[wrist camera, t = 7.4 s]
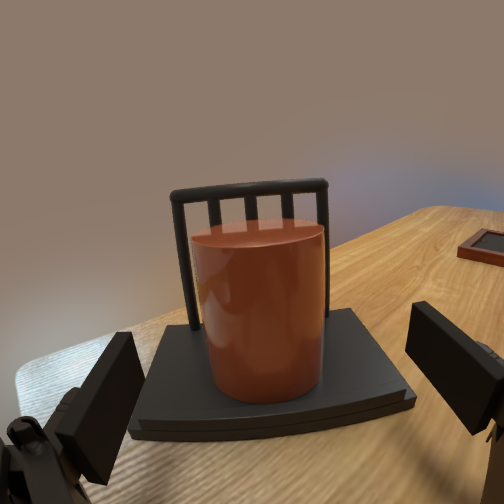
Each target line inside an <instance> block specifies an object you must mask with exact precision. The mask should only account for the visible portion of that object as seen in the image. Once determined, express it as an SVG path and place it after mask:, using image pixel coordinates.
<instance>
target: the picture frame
mask: <svg viewBox="0 0 504 504" xmlns="http://www.w3.org/2000/svg"><path fill="white" fill-rule="evenodd" d="M457 257H460V258H465V259H470V260H475V261H479V262H484V263H488V264H493V265H498V266H502V267H504V232H499V231H494V230H488V229H481V230H479V231H478V232H477V233H475V234H474V235H473V236H472V237H470V238H469V239H468V240H466V241H465V242H464V243H462V244H461V245H460V246H458V251H457Z"/></svg>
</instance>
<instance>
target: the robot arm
mask: <svg viewBox="0 0 504 504" xmlns="http://www.w3.org/2000/svg"><path fill="white" fill-rule="evenodd" d="M405 352H406V353H407V354H408V355H409V357H410V358H411V359H412V360H413V361H414V363H415V364H416V365H417V366H418V367H419V369H420V370H421V371H422V372H423V374H424V375H425V376H426V377H427V378H428V380H429V381H430V382H431V383H432V385H433V386H434V387H435V388H436V390H437V391H438V392H439V393H440V395H441V396H442V397H443V398H444V400H445V401H446V402H447V404H448V405H449V406H450V407H451V409H452V410H453V411H454V413H455V414H456V415H457V416H458V418H459V419H460V420H461V422H462V423H463V424H464V426H465V427H466V428H467V430H468V431H469V432H470V433H471V435H472V436H473V435H475V434H477V433H479V432H481V431H483V430H485V429H486V428H487V426H488V424H489V422H490V420H491V418H493V420H494V421H495V422H496V423H495V425H494V427H493V428H492V430H491V432H490V434H489V436H488V437H487V440H486V442H488V441H489V440H490V438H491V437H492V441H491V450H490V457H489V463H488V469H487V475H486V480H485V485H484V490H483V495H482V499H481V503H480V504H504V360H503V359H502V358H500V357H499V355H497V354H496V353H494V351H493V350H492V349H490V348H489V347H488V346H487V345H485V344H482V343H480V342H478V341H476V342H475V341H474V340H472V339H471V338H470V337H469V336H468V335H466V334H465V333H464V332H463V331H462V330H460V329H459V328H458V327H457V326H456V325H454V324H453V323H452V322H451V321H450V320H448V319H447V318H446V317H445V316H443V315H442V314H441V313H440V312H438V311H437V310H436V309H435V308H433V307H432V306H431V305H430V304H428V303H427V302H426V301H421V302H416V303H412V309H411V317H410V323H409V330H408V336H407V342H406V348H405ZM145 380H146V379H145V376H144V373H143V370H142V367H141V363H140V360H139V357H138V353H137V350H136V346H135V343H134V339H133V336H132V332H116V334H115V335H114V337H113V338H112V340H111V341H110V343H109V344H108V346H107V347H106V349H105V350H104V352H103V353H102V355H101V356H100V358H99V359H98V361H97V362H96V364H95V365H94V367H93V368H92V370H91V371H90V373H89V375H88V376H87V378H86V379H85V381H84V383H83V384H82V386H81V387H80V388H78V387H73V388H72V389H71V390H70V391H68V392H67V393H66V394H65V395H64V397H63V398H62V400H61V401H60V404H58V406H57V407H56V409H55V411H54V412H53V414H52V415H51V417H50V418H49V420H48V422H47V423H46V425H45V426H44V428H43V429H42V428H41V426H40V425H39V423H38V421H37V420H36V419H35V418H33V417H31V416H23V417H19V418H17V419H15V420H14V421H13V422H11V424H10V425H9V426H8V428H7V435H8V437H9V438H10V440H11V441H12V443H13V444H14V445H5V443H4V442H3V441H2V439H1V438H0V504H92V503H91V501H90V499H89V498H88V496H87V494H86V492H85V490H84V488H83V486H82V484H81V483H80V482H79V479H80V476H81V474H83V475H84V477H85V478H86V479H87V481H88V482H91V483H95V484H100V485H105V486H107V484H108V481H109V478H110V475H111V472H112V469H113V466H114V463H115V461H116V458H117V455H118V452H119V449H120V446H121V444H122V441H123V438H124V435H125V432H126V430H127V427H128V424H129V422H130V419H131V416H132V413H133V411H134V408H135V405H136V403H137V400H138V398H139V395H140V392H141V390H142V387H143V385H144V382H145Z"/></svg>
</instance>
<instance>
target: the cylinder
mask: <svg viewBox="0 0 504 504" xmlns="http://www.w3.org/2000/svg"><path fill="white" fill-rule="evenodd" d="M191 244H192V252H193V260H194V267H195V275H196V282H197V288H198V294H199V302H200V308H201V314H202V321H203V327H204V333H205V339H206V344H207V350H208V356H209V361H210V367H211V372H212V377H213V381H214V383H215V384H216V386H217V387H218V388H219V389H220V390H221V391H222V392H223V393H225V394H226V395H228V396H229V397H232V398H234V399H236V400H239V401H243V402H247V403H253V404H274V403H280V402H285V401H289V400H292V399H294V398H297V397H299V396H301V395H303V394H305V393H306V392H308V391H309V390H310V389H312V388H313V387H314V386H315V385H316V384H317V383H318V381H319V379H320V378H321V376H322V373H323V362H324V334H325V233H324V227H323V226H322V225H321V224H319V223H316V222H312V221H307V220H298V219H258V220H247V221H238V222H232V223H226V224H221V225H217V226H213V227H209V228H206V229H203V230H201V231H198V232H196V233H195V234H193V235H192V237H191Z"/></svg>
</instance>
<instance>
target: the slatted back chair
mask: <svg viewBox="0 0 504 504" xmlns="http://www.w3.org/2000/svg"><path fill="white" fill-rule="evenodd" d="M314 192H315V193H316V204H317V223H319V224H321V225H322V226H323V227H324V233H325V334H324V362H323V373H322V376H321V378H320V379H319V381H318V383H317V384H316V385H315V386H314V387H313V388H312V389H310V390H309V391H308V392H306V393H305V394H303V395H301V396H299V397H297V398H294V399H292V400H289V401H285V402H280V403H274V404H253V403H247V402H243V401H239V400H236V399H234V398H232V397H229V396H228V395H226V394H225V393H223V392H222V391H221V390H220V389H219V388H218V387H217V386H216V384H215V383H214V381H213V377H212V372H211V367H210V361H209V356H208V350H207V344H206V339H205V333H204V327H203V323H201V324H200V320H199V314H198V308H197V301H196V295H195V288H194V282H193V276H192V268H191V261H190V253H189V246H188V238H187V230H186V222H185V213H184V203H194V202H203V201H207V203H208V213H209V222H210V227H213V226H217V225H221V224H222V220H221V211H220V200H223V199H234V198H244V203H245V214H246V221H247V220H258V211H257V199H256V197H258V196H269V195H281V208H282V219H294V206H293V194H300V193H314ZM170 201H171V205H172V213H173V221H174V229H175V236H176V244H177V251H178V258H179V265H180V272H181V278H182V284H183V291H184V296H185V303H186V309H187V314H188V320H189V324H185V325H167V326H166V329H165V331H164V334H163V336H162V339H161V341H160V344H159V346H158V349H157V351H156V354H155V356H154V359H153V361H152V364H151V366H150V369H149V372H148V374H147V377H146V380H145V382H144V385H143V387H142V390H141V393H140V395H139V398H138V401H137V403H136V406H135V409H134V411H133V414H132V417H131V420H130V423H129V425H128V428H127V430H128V432H129V434H130V436H131V438H132V439H142V440H160V441H223V440H241V439H254V438H265V437H275V436H283V435H291V434H298V433H305V432H311V431H317V430H323V429H328V428H333V427H338V426H343V425H348V424H353V423H357V422H361V421H365V420H370V419H374V418H377V417H381V416H385V415H389V414H392V413H396V412H399V411H402V410H406V409H409V408H412V407H414V405H415V402H416V399H417V396H416V394H415V393H414V392H413V390H412V389H411V387H410V386H409V385H408V383H407V382H406V381H405V379H404V378H403V377H402V375H401V374H400V372H399V371H398V370H397V368H396V367H395V366H394V364H393V363H392V362H391V360H390V359H389V358H388V356H387V355H386V354H385V352H384V351H383V350H382V348H381V347H380V346H379V345H378V343H377V342H376V341H375V339H374V338H373V337H372V335H371V334H370V333H369V331H368V330H367V329H366V328H365V326H364V325H363V324H362V322H361V321H360V320H359V319H358V317H357V316H356V315H355V313H354V312H353V311H352V310H351V308H345V309H338V310H331V311H329V303H330V246H329V213H328V212H329V211H328V182H327V181H326V180H325V179H324V178H310V179H291V180H276V181H262V182H249V183H237V184H226V185H216V186H206V187H197V188H189V189H181V190H174V191H172V192H171V194H170Z"/></svg>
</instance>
